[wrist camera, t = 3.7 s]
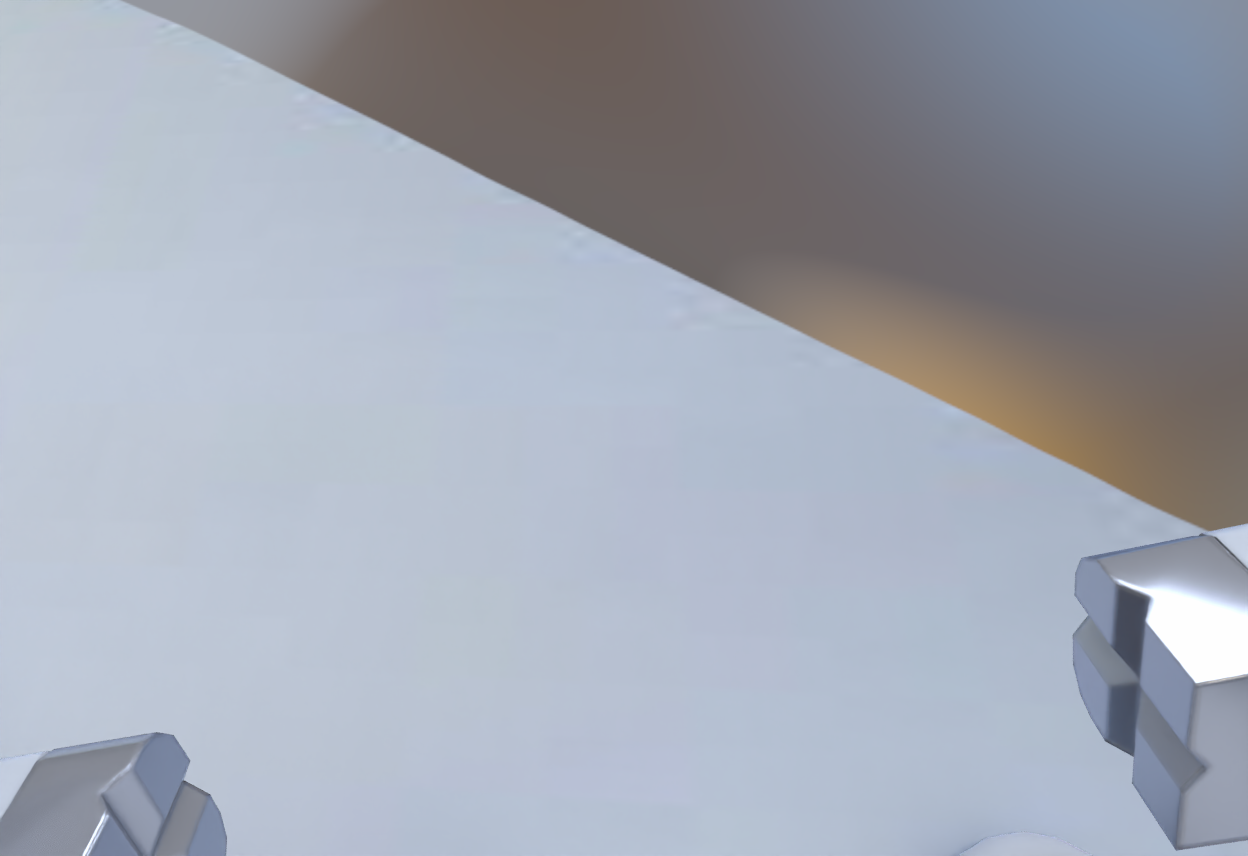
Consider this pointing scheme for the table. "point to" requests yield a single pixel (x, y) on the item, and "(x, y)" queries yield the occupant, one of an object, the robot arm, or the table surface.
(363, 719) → the table surface
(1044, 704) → the table surface
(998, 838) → the donut
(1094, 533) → the table surface
